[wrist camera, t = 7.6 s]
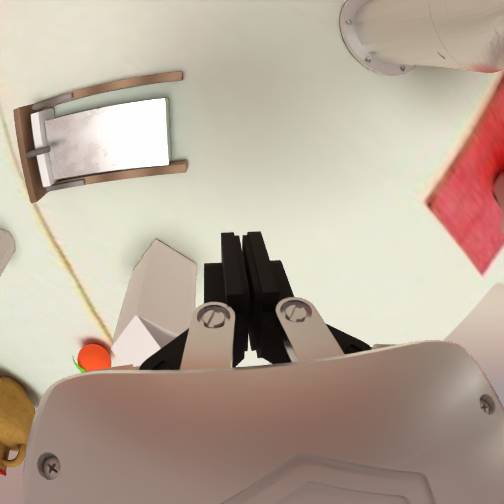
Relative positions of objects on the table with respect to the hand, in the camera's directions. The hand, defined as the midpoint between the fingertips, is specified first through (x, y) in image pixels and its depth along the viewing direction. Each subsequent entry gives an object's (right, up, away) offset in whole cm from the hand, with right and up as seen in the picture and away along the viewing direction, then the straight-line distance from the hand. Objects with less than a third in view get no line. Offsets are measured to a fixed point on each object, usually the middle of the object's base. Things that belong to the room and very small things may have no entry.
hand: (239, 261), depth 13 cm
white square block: (-21, +15, +18) cm, 31 cm away
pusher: (-25, +15, +16) cm, 33 cm away
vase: (-70, -39, +44) cm, 91 cm away
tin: (-13, +15, +18) cm, 27 cm away
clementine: (-30, -18, +37) cm, 51 cm away
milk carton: (-12, -2, +29) cm, 32 cm away
